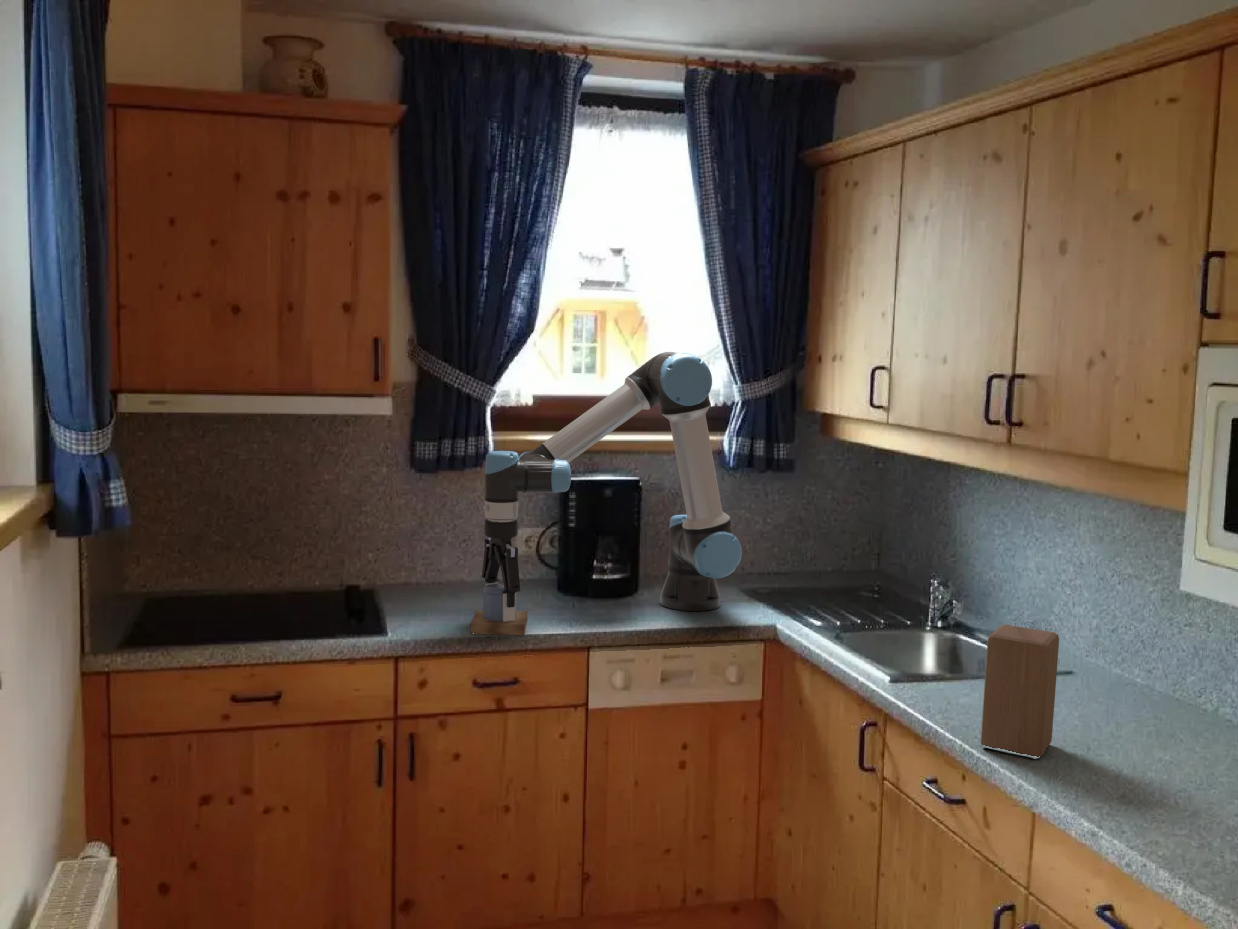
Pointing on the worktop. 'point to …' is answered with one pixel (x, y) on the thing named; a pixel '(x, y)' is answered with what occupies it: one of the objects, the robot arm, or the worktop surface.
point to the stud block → (499, 625)
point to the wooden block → (1019, 689)
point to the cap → (494, 602)
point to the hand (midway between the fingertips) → (500, 615)
